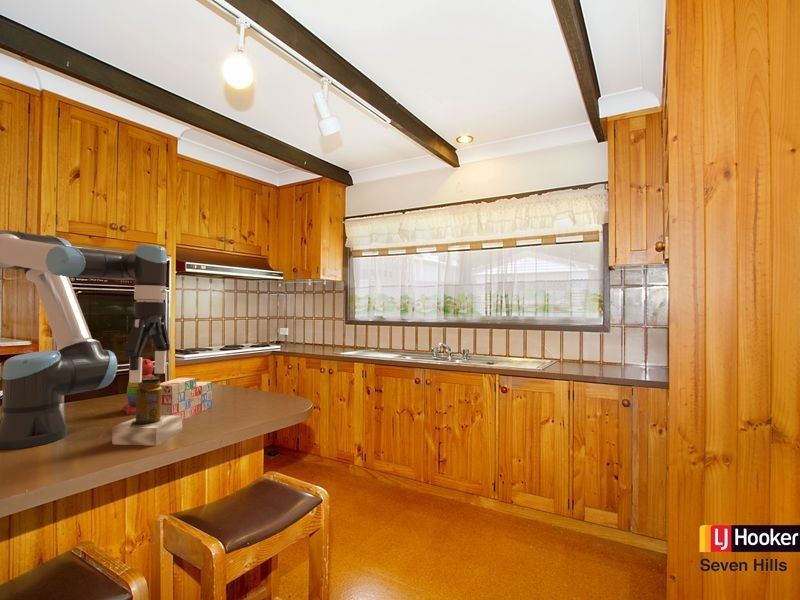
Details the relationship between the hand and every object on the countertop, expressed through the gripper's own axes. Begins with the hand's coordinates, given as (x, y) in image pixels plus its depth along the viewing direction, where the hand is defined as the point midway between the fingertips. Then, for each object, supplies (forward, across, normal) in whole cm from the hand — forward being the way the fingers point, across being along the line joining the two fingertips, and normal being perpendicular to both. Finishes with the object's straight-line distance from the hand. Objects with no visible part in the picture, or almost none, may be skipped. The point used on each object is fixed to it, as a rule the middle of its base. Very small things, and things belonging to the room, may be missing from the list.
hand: (148, 377), depth 117 cm
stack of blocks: (+17, +23, -1) cm, 29 cm away
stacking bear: (+17, +31, +16) cm, 39 cm away
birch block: (+17, 0, -1) cm, 17 cm away
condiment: (+12, -1, -1) cm, 12 cm away
